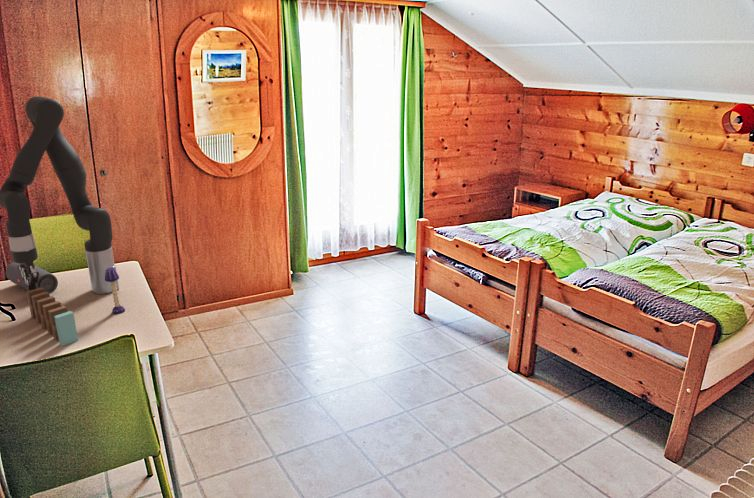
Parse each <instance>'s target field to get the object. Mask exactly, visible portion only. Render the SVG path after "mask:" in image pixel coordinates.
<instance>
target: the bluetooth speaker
mask: <svg viewBox="0 0 754 498" xmlns="http://www.w3.org/2000/svg"><path fill="white" fill-rule="evenodd" d="M18 265H20V264H19V263H15V262H13V261H12V262H11V263H10V264H8V266H7V267H6V268H5V276H6V278H7V280H8V281H10V282H11V283H14V284H15V285H16V286H19V287H20V288H23V289H25V290H26V292H27V291H28V288H27V284H26V283H25V281H24V280H23V278H22V276H21V274H20V272H19V270H18V268H17V266H18ZM35 271H36V272H39V278H38V283H35V285H36V289H37V288H41V287H42V288H44V290H45V292H48V293H49V295H50V294H52V293H54V292H55V291H56V290H57V289H58V284H59V281H58V279H57V277H56V276H55V275H54V274H52V272H49V271H47V270H45V269H44V268H40V267H38V266H36V270H35Z"/></svg>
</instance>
